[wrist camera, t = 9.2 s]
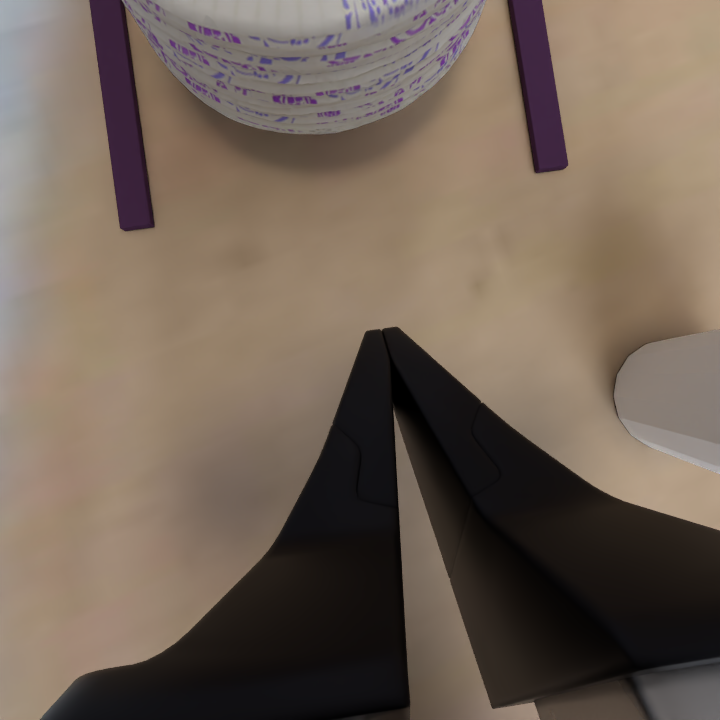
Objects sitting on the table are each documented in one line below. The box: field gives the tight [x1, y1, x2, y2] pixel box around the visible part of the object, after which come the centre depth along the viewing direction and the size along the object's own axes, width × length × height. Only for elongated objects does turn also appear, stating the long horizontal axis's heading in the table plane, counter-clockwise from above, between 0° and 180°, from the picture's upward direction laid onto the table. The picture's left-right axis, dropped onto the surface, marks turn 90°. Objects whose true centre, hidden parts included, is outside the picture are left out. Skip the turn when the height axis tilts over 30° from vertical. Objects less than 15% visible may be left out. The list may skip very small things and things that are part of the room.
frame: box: [89, 0, 568, 231], centre depth 18 cm, size 19×22×1 cm
